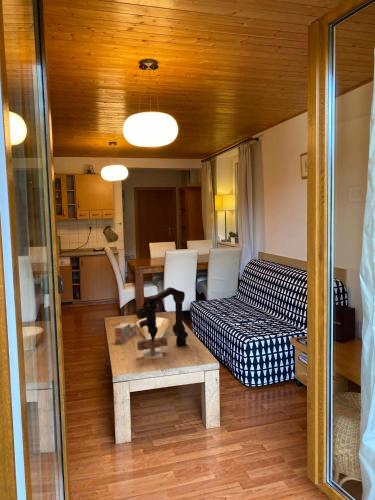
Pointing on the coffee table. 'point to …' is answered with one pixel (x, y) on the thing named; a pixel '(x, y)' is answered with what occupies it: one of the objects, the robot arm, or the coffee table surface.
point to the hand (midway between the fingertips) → (152, 338)
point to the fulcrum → (152, 353)
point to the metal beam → (151, 343)
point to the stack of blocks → (125, 332)
